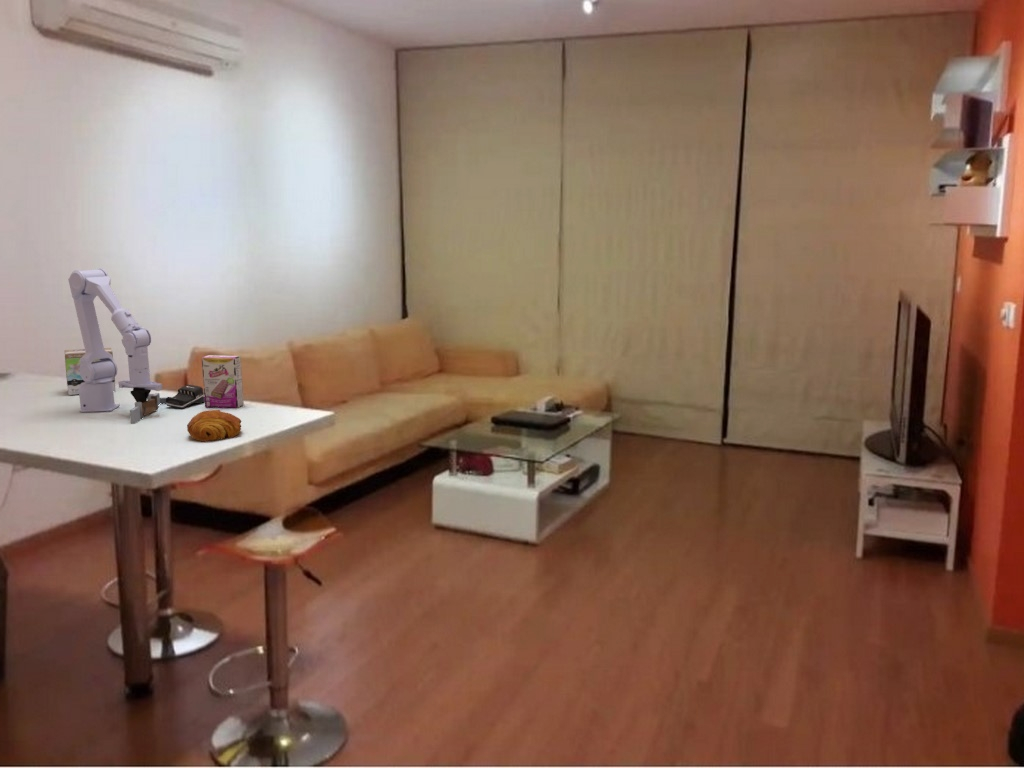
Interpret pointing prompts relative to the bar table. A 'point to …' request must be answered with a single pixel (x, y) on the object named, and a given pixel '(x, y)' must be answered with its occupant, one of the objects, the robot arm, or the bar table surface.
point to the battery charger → (185, 396)
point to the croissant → (213, 425)
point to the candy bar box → (222, 381)
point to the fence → (140, 409)
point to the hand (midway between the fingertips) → (142, 411)
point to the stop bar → (163, 400)
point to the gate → (150, 405)
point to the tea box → (77, 369)
